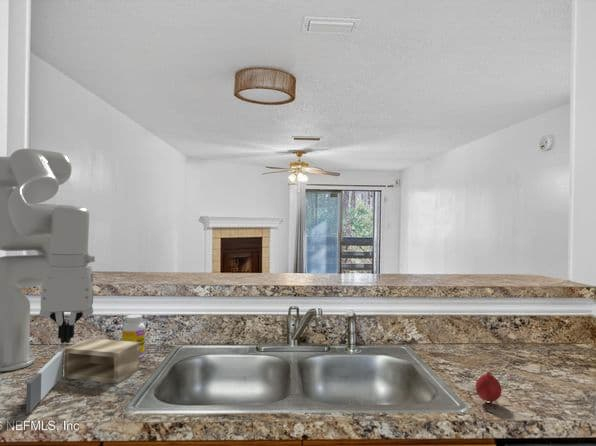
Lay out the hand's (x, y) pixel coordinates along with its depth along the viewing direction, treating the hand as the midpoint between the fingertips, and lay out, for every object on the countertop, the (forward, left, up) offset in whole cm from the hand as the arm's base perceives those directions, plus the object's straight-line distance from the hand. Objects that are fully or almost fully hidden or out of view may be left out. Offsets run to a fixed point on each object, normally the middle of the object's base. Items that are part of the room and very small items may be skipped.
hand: (65, 341), depth 94 cm
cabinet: (-5, +20, -15) cm, 26 cm away
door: (-9, +5, -14) cm, 17 cm away
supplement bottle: (-5, +35, -15) cm, 39 cm away
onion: (+97, +25, -15) cm, 102 cm away
